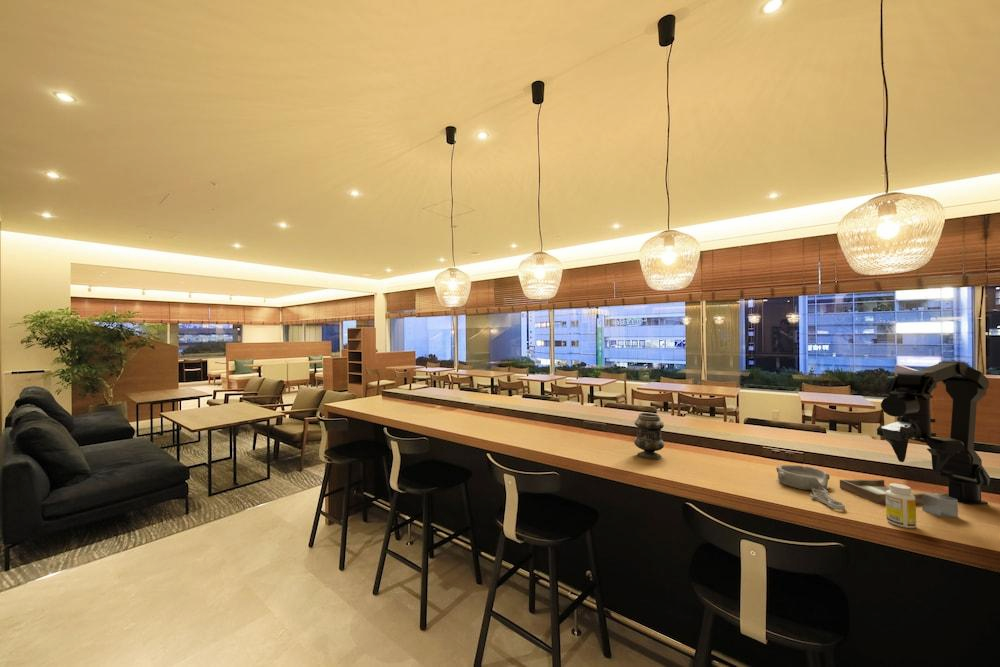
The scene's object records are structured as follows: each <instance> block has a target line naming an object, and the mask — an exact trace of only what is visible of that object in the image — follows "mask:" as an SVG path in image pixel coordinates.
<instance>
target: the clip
mask: <svg viewBox="0 0 1000 667" xmlns="http://www.w3.org/2000/svg"><path fill="white" fill-rule="evenodd" d="M921 494H922V504H921V510H922V511H923V512H926V513H928V514H931V515H934V516H936V517H939V518H959V507H958V506H959V504H958V503H959V501H958V500H957V499H954V498H951V497H948V496H945V495H943V494H942V493H939V492H938V493H937V492H935V493H934V492H933V493H932V492H928V493H927V492H924V493H923V492H922V493H921Z"/></svg>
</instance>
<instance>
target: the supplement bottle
mask: <svg viewBox="0 0 1000 667" xmlns="http://www.w3.org/2000/svg"><path fill="white" fill-rule="evenodd" d="M888 486H889V488H890V490H887V491H886V504H885V514H886V516H885V518H886V520H887V522H889V523H890V524H891V525H893V526H897V527H899V528H900V527H901V528H906V529H915V528H916V527H917V509H916V508H917V506H916V499H915V496H913V495H912V494H913V493H912V488H911V487H910V486H908V485H905V484H901V483H895V482H893V483H889V485H888Z"/></svg>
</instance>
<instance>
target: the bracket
mask: <svg viewBox="0 0 1000 667" xmlns="http://www.w3.org/2000/svg"><path fill="white" fill-rule="evenodd" d="M811 492H812V493H810V498H811V499H813V500H815V501H817V502H820V503H822V504H825V505H827V506H828V507H830V508H831V509H834V510H838V511H845V510H846V508H845V504H844V502H842V501H841V502H840V501H838V500H836V499H834V498H831V496H829V491H828V490H827V488H825V489H824V488H821V487H819V488H818V489H814V488H813V487H812V490H811Z"/></svg>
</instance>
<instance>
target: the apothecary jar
mask: <svg viewBox="0 0 1000 667" xmlns="http://www.w3.org/2000/svg"><path fill="white" fill-rule="evenodd" d="M634 426H636V427H637V433H636V434H637V435H636V437H635V439H634V440H633V442H634V445H635V446H636V447H637V448H639V449H641V450H643V451H640V452H637V454H636V456H637V457H639V458H641V459H645V460H653V461H654V460H660V459H662V455H661V454H660V453H657V451H661V450H662V449H663V448H664V447H665V443H664V440H663V439H662V429H663V428H664V426H665V424H664V422H663V420H662V419H661V416H660V415H659V414H658V413H651V412H639V413H638V417H637V418H636V419H635V420H634Z"/></svg>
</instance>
